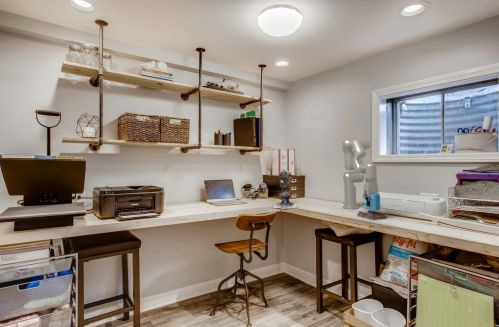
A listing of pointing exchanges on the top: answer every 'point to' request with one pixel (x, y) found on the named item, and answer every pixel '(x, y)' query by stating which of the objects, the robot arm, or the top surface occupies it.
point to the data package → (372, 202)
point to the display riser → (371, 215)
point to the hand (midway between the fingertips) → (371, 205)
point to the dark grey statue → (285, 191)
